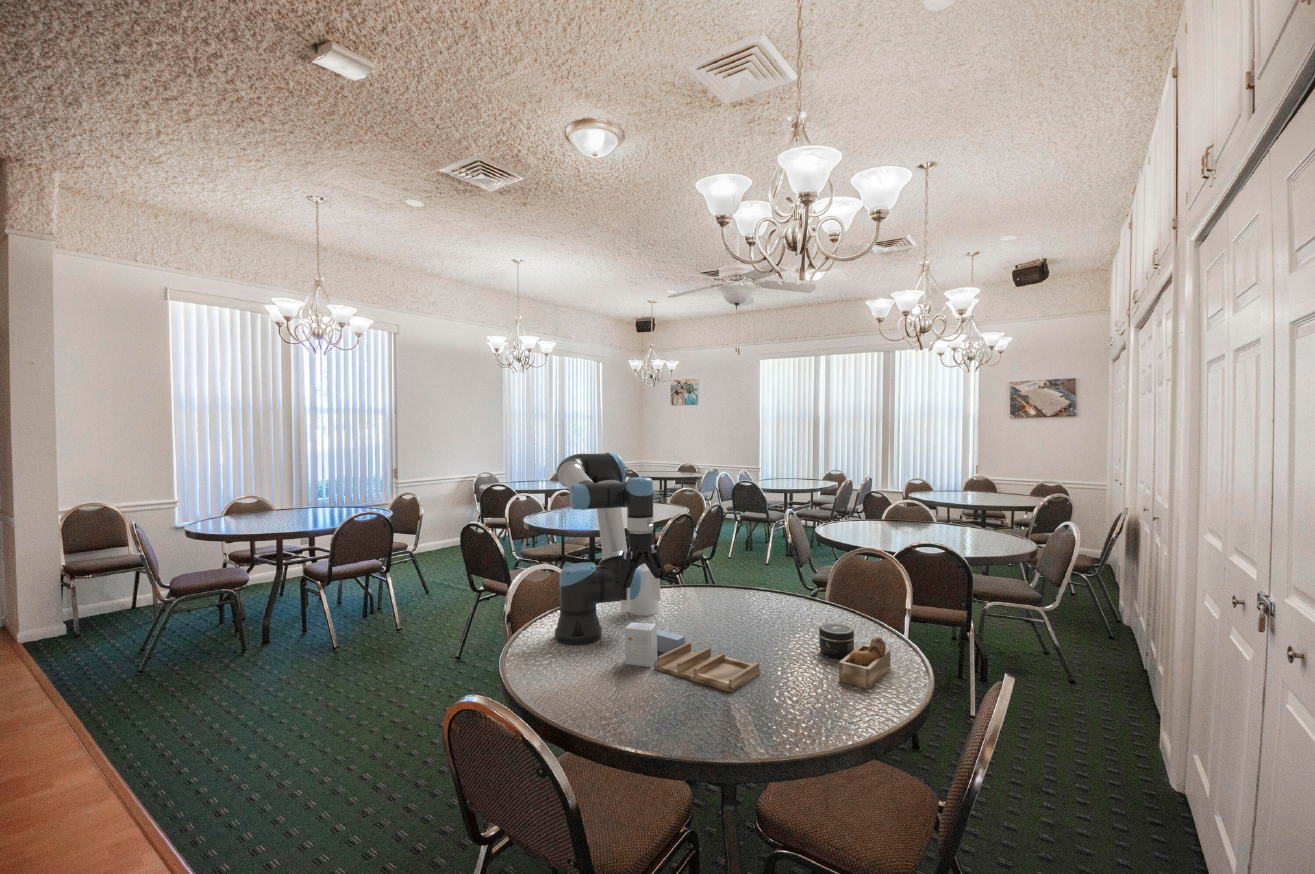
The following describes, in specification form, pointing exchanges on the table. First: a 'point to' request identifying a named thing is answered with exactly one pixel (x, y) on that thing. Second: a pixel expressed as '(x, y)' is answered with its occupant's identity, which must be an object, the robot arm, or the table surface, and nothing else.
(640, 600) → the bottle
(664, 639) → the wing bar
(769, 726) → the table surface
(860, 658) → the lion figurine
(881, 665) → the open wooden box
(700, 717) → the table surface
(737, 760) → the table surface
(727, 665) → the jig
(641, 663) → the small box
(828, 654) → the jar
